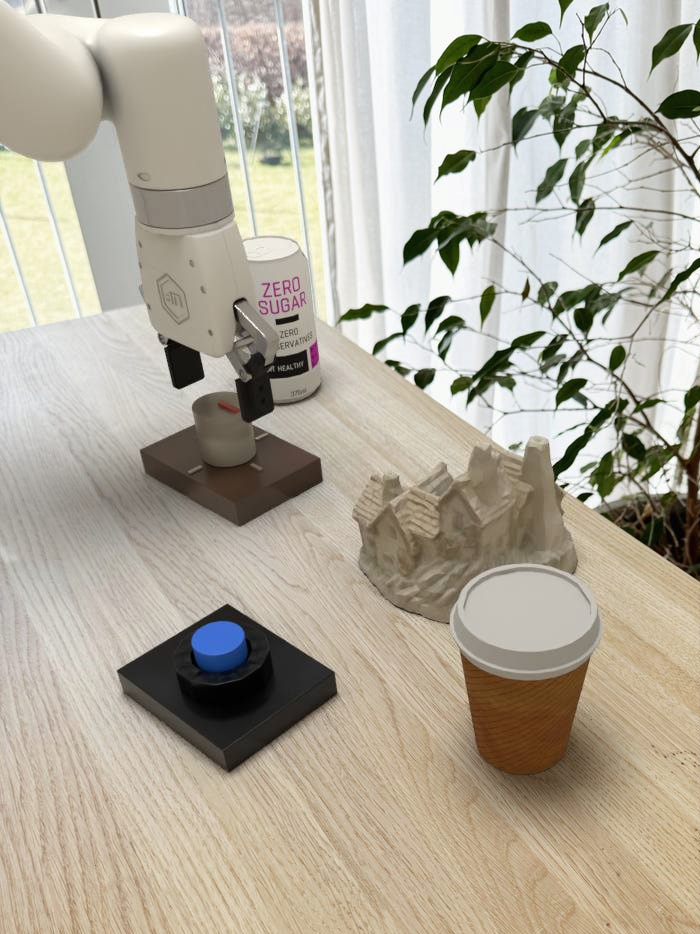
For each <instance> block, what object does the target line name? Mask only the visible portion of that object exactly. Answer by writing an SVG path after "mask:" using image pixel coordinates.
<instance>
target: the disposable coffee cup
mask: <svg viewBox="0 0 700 934" xmlns="http://www.w3.org/2000/svg"><path fill="white" fill-rule="evenodd" d="M604 626H605V625H604V618H603V614H602V612H601V609H600V608H599V606H598V604H597V601H596V598H595V596H594V594H593V591H592V590H591V589H590V588H589V587H588V586H587V584H585V582H584V581H582V580H581V579H580V578H578V577H576V576H575V575H573V574H569V573H567V572H564V571H561V570H559V569H556V568H553V567H550V566H545V565H539V564H529V563H527V564H511V565H504V566H500V567H496V568H493V569H490V570H488V571H485V572H483V573H481V574H479V575H478V576H476V577H475V578H473V579H472V580H470V581H469V583H468V584H467V585H466V586H465V587H464V588H463V589H462V591H461V594H460V596H459V599H458V601H457V602H456V603H455V605H454V607H453V609H452V612H451V614H450V622H449V630H450V633H451V638H452V640H453V641H454V642H455V645H456V646H457V648H458V650H459V654H460V660H461V665H462V672H463V676H464V683H465V688H466V689H465V690H466V693H467V699H468V705H469V711H470V716H471V722H472V727H473V732H474V739H475V744H476V745H475V746H476V748H477V750H478V752H479V754H480V756H481V757H482V758H483V759H484V760H485V762H487V763H488V764H489V765H491V767H494V768H496V769H498V770H500V771H502V772H506V773H509V774H515V775H516V774H517V775H529V774H537V773H540V772H543V771H546V770H548V769H550V768H552V767H553V766H555V765H556V764H557V763H558V762H559V761H560V760H562V758H563V756H564V754H565V752H566V750H567V747H568V742H569V738H570V734H571V731H572V728H573V724H574V720H575V717H576V713H577V710H578V707H579V706H578V705H579V702H580V699H581V694H582V691H583V687H584V683H585V679H586V676H587V673H588V669H589V665H590V660H591V657H592V654H593V653H594V652H595V651H596V649H597V647H598V646H599V645H600V643H601V640H602V637H603V634H604V633H603V632H604Z"/></svg>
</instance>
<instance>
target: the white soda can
mask: <svg viewBox="0 0 700 934" xmlns="http://www.w3.org/2000/svg"><path fill="white" fill-rule="evenodd" d="M242 242H243V245H244V248H245V252H246V255H247V259H248V263H249V266H250V271H251V275H252V279H253V283H254V288H255V292H256V297H257V303H258V308H259V315H260V316H261V317H262V318H263V319H264V320H265V321H266V322H267V323H268V324H269V325H270V326H271V327H272V328H273V329H274V330H275V331H276V333H277V334H278V336H279V344H278V348H277V353H276V356H277V360H276V361H275V363H274V364H273V365H272V367H273V368H272V370H271V371H269V377H270V383H271V389H272V395H273V401H274V404H288V403H294V402H297V401H298V402H299V401H301V400H303V399H306V398H309V397H310V396H311V395H312V394H313V393H314V392H315V391H316V390H317V388H318V387H319V386H320V385H321V382H322V371H321V361H320V354H319V345H318V337H317V336H318V335H317V327H316V319H315V318H316V317H315V309H314V300H313V292H312V291H313V290H312V282H311V274H310V273H311V272H310V264H309V260H308V257H307V256H306V255H305V253H304V251H303V250H302V248H301V244H300V243H299V241H297V240H296V239H294V238H292V237H288V236H284V235H277V234H276V235H275V234H274V235H273V234H265V235H254V236H250V237H245V238H242ZM235 339H236V341H238V340H240V339H241V338H239V337H237V336H235ZM239 353H240V354H241V356H242V358H243V359H244V361H245V363H247V362H248V360H249V359H250V358H251V356H252V354H251V352H250V351H249V349H248V347H247V348H245V349H242V350H240V351H239Z"/></svg>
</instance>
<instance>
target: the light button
mask: <svg viewBox="0 0 700 934" xmlns="http://www.w3.org/2000/svg"><path fill="white" fill-rule="evenodd" d="M191 643H192V648H193V652H194V656H195V660H196V663H197V665H198V666H199V668H201V669H202V670H204V671H206V672H213V673H220V672H224V671H229V670H233V669H235V668H237V667H238V666H240V665H241V664H243V663H244V662H245V661H246V659H247V656H248V649H247V644H246V639H245V634H244V631H243V629H242V628H241V627H240V626H239V625H237V624H235V623H232V622H227V621H219V622H213V623H210V624H207V625H205V626H203V627H201V628H200V629H198V630H197V631H196V632H195V634H194V635H193V637H192V641H191Z"/></svg>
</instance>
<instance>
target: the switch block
mask: <svg viewBox="0 0 700 934" xmlns="http://www.w3.org/2000/svg"><path fill="white" fill-rule="evenodd" d="M219 621H227V622H232V623H235V624H237V625H239V626H240V627H241V628H242V629H243V631H244V634H245V639H246V644H247V649H248V656H247V659H246V661H245V662H244V663H243V664H241V665H240V666H238V667H237V668H235V669H233V670H229V671H224V672H220V673H213V672H206V671H204V670H202V669H201V668H199V666H198V665H197V663H196V660H195V656H194V652H193V648H192V643H191V641H192V637H193V635H194V634H195V632H196V631H197V630H198V629H200V628H201V627H203V626H205V625H207V624H210V623H213V622H219ZM116 673H117V677H118V680H119V682H120V683H119V684H120V685H121V686H120V687H121V689H122V691H123V694H125V695H127V697H129V698H130V699H131V700H132V701H134V702H135V703H137V704H138V705H139V706H141V708H143V709H145V710H146V711H147V712H148V713H149V714H151V715H152V716H154V717H155V718H157V719H158V720H159V721H160V722H161V723H163V724H164V725H166V727H168V728H170V729H171V730H172V731H173V732H175V733H176V734H177V735H179V736H180V737H181V738H182V739H184V740H185V741H187V742H188V743H189V744H191V745H192V746H193V747H194V748H196V749H197V750H198V751H199V752H201V753H202V754H203V755H204V756H206V757H208V759H210V760H211V761H212V762H214V763H215V764H216V765H218V766H219V767H220V768H222V769H223V770H224V771H225V772H227V773H228V774H229V773H231V772H232V771H234V770H235V769H237V768H238V767H239V766H240V765H242V764H244V762H246V761H247V760H249V759H250V758H252V757H253V756H254V755H255V754H257V753H258V752H259V751H261V750H262V749H264V748H265V747H266V746H268V745H269V744H271V743H272V742H273V741H275V740H276V739H278V738H279V737H280V736H282V735H283V734H284V733H286V732H287V731H289V730H290V729H291V728H293V727H294V726H295V725H297V724H298V723H299V722H301V721H303V720H304V719H305V718H306V717H308V716H309V715H310V714H312V713H314V711H317V710H318V709H319V708H320V707H321V706H323V705H324V704H326V703H327V702H329V701H330V700H332V698H334V697H336V695H338V687H337V678H336V672H335V671H334V670H332V669H331V668H329V667H328V666H326V665H325V664H324V663H322V662H320V661H318V660H317V659H315V658H314V657H312V656H311V655H309V654H307V653H306V652H304V651H303V650H301V649H300V648H298V647H297V646H295V645H294V644H292V643H290V642H288V641H287V640H285V638H283V637H281V636H279V635H277V634H276V633H274V632H273V631H272V630H270V629H268V628H267V627H265V626H263V625H262V624H261V623H259V622H257V621H256V620H254V619H253V618H252V617H250V616H248V615H246V614H245V613H243V612H242V611H240V610H238V609H237V608H235V607H233V605H231V604H229V603H225V604H223V605H222V606H221V607H219V608H217V609H216V610H214V611H212V612H210V613H209V614H207V615H206V616H204V617H202V618H201V619H199V620H196V621H195V622H194V623H192V624H191V625H189V626H188V627H186V628H184V629H182V630H180V631H179V632H178V633H175V634H174V635H173V636H171V637H169V638H168V639H166V640H165V641H162V642H161V643H159V644H158V645H156V646H154V647H153V648H151V649H149V650H148V651H146V652H145V653H143V654H141V655H140V656H138V657H136V658H134V659H133V660H131V661H129V662H128V663H126V664H125V665H123V666H121V667H120V668H118V669H116Z"/></svg>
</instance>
